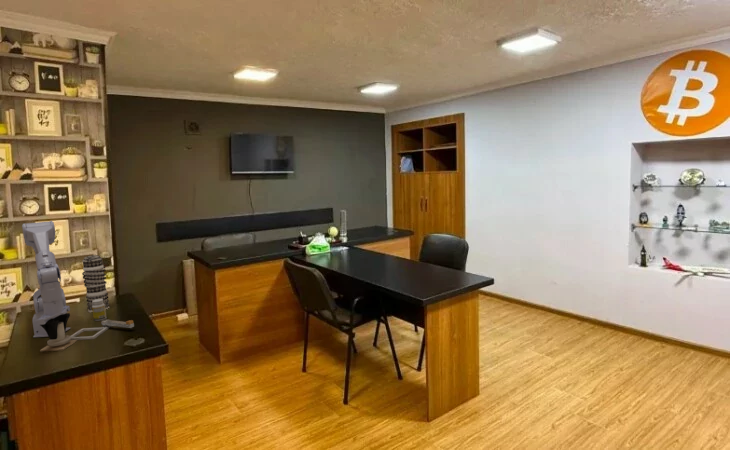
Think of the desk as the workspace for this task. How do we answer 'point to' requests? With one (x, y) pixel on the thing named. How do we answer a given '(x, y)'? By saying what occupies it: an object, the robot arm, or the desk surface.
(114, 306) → the desk surface
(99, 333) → the socket
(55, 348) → the coaster
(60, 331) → the plug
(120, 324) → the clip
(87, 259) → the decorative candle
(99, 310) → the supplement bottle
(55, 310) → the robot arm
